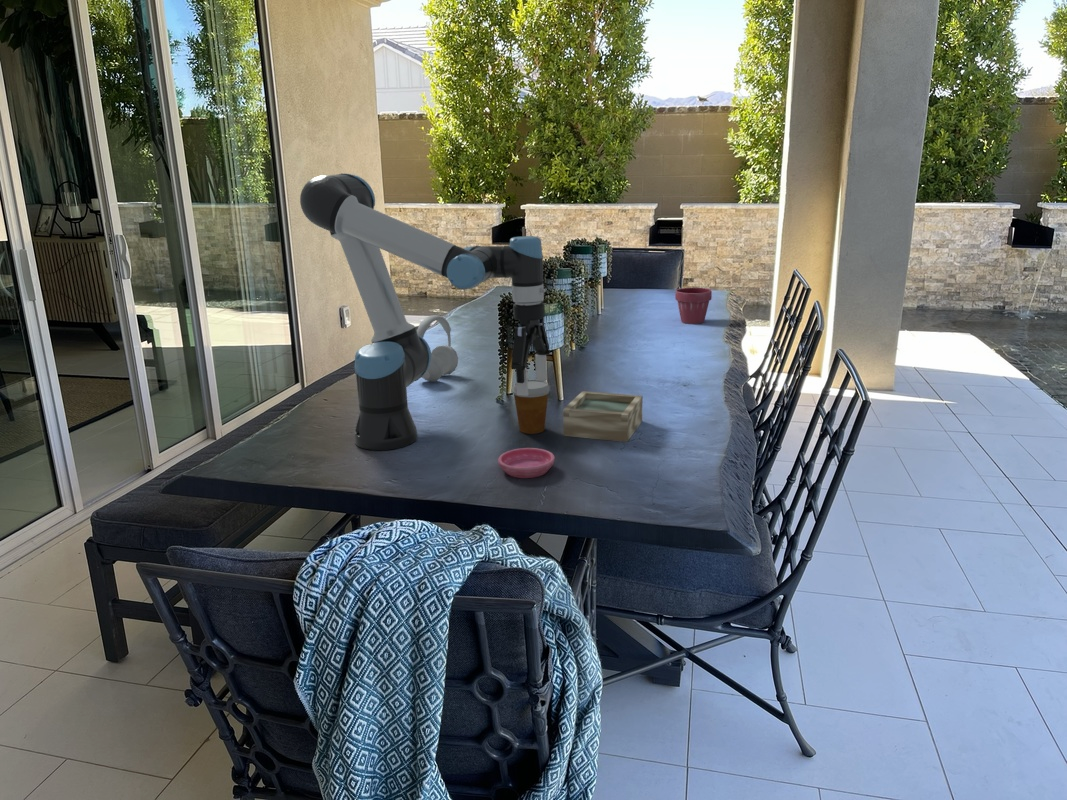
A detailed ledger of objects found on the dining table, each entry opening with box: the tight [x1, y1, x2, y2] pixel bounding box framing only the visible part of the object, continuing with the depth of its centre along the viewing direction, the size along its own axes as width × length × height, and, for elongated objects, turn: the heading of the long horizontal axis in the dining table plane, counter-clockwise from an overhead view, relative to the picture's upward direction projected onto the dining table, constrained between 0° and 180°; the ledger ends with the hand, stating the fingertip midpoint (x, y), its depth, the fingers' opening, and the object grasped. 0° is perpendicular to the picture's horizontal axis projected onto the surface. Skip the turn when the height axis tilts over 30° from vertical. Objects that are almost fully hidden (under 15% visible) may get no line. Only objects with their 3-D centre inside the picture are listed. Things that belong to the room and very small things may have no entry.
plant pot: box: [674, 287, 713, 325], centre depth 318 cm, size 14×14×13 cm
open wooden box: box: [562, 390, 643, 443], centre depth 200 cm, size 16×16×7 cm
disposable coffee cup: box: [511, 378, 551, 435], centre depth 200 cm, size 10×10×12 cm
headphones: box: [416, 314, 459, 383], centre depth 246 cm, size 19×9×20 cm, turn 154°
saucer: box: [497, 447, 556, 479], centre depth 176 cm, size 12×12×3 cm
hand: (532, 387), depth 198 cm, fingers open, 13 cm apart
